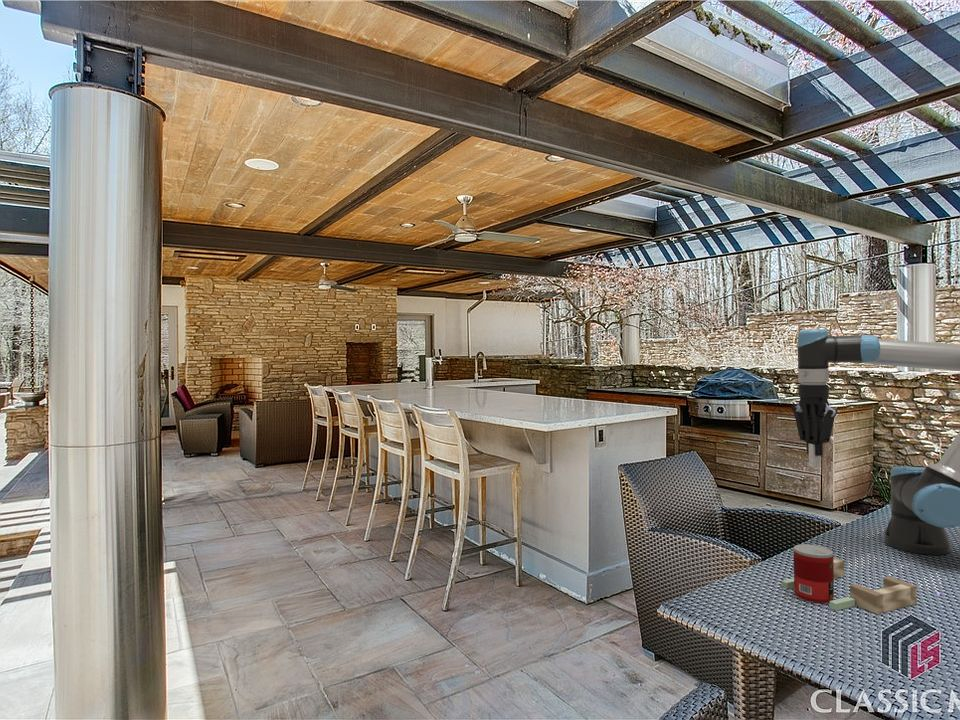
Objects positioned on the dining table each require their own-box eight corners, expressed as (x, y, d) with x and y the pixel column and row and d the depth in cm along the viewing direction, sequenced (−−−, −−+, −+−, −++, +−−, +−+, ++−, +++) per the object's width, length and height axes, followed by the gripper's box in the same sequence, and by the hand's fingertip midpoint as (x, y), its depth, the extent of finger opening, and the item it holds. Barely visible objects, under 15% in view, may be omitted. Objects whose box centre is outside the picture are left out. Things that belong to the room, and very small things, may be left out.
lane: (837, 573, 144) (836, 558, 144) (916, 603, 126) (916, 586, 126) (799, 581, 139) (799, 565, 139) (876, 614, 122) (876, 595, 122)
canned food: (838, 605, 126) (838, 556, 126) (799, 601, 128) (798, 553, 128) (827, 591, 134) (827, 545, 134) (790, 588, 136) (789, 542, 136)
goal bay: (799, 582, 139) (799, 576, 139) (855, 606, 126) (854, 599, 126) (781, 586, 137) (781, 580, 137) (835, 610, 124) (835, 603, 124)
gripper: (783, 383, 165) (785, 463, 165) (824, 385, 152) (826, 472, 152) (802, 382, 167) (804, 461, 167) (844, 384, 155) (846, 469, 155)
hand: (814, 466), depth 160 cm, fingers closed
